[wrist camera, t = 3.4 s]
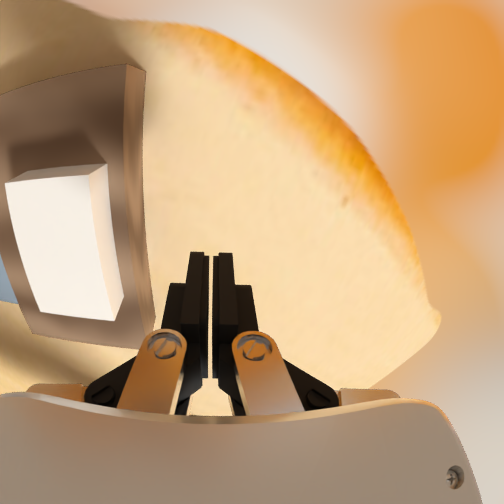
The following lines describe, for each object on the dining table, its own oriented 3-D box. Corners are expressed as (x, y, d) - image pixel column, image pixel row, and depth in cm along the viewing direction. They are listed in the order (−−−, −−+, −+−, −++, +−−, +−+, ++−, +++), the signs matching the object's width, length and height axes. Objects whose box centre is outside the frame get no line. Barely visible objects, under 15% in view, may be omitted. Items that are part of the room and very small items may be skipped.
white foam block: (124, 296, 18) (114, 321, 15) (54, 290, 17) (40, 311, 15) (107, 163, 13) (88, 174, 11) (27, 170, 12) (4, 183, 10)
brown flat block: (155, 317, 24) (148, 350, 20) (48, 306, 22) (32, 333, 19) (146, 71, 14) (126, 63, 11) (11, 98, 12) (-21, 103, 9)
